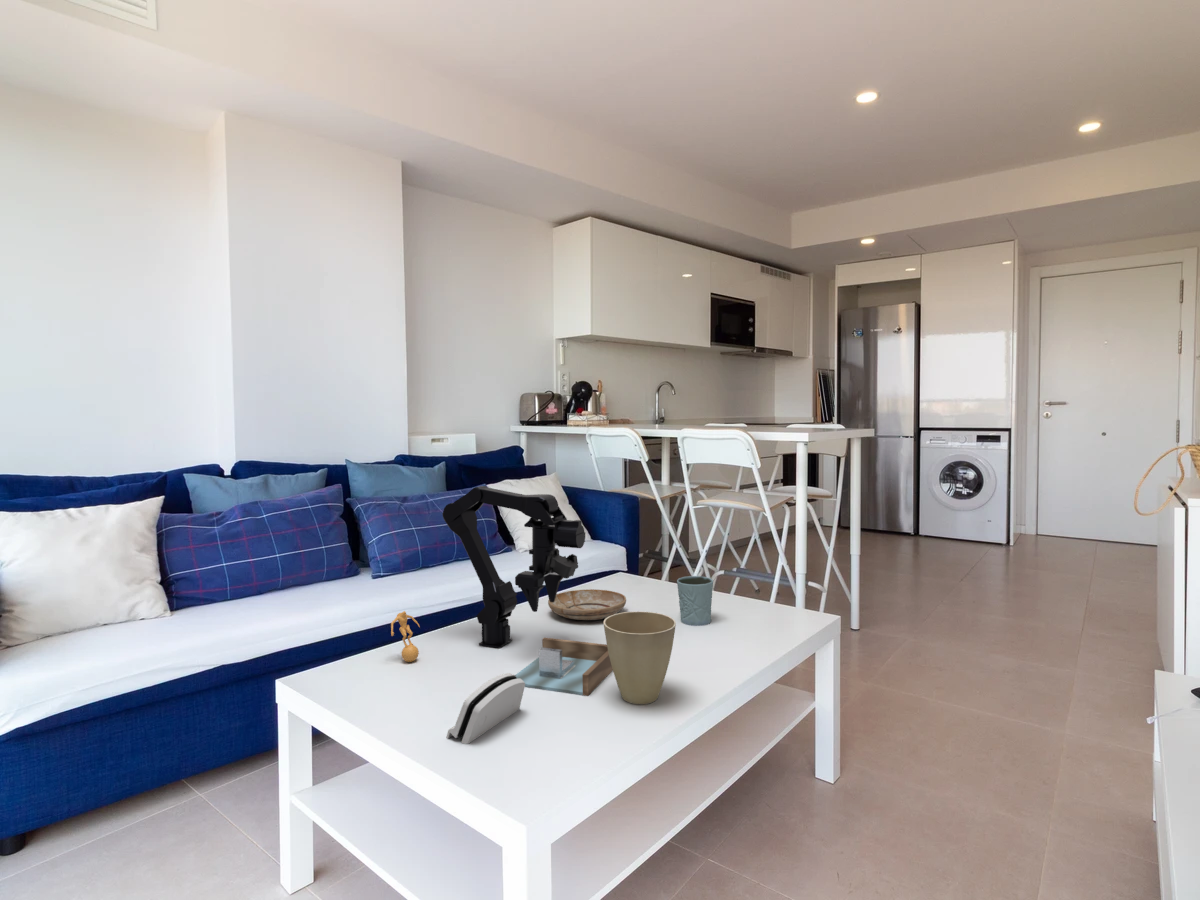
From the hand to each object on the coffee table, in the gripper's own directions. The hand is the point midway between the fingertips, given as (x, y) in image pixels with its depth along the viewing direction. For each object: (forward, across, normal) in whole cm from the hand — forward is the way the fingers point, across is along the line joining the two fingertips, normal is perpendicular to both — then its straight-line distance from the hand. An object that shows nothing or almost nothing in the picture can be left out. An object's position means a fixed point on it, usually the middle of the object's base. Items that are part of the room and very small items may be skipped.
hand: (543, 606), depth 167 cm
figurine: (+12, -19, +27) cm, 35 cm away
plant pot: (+11, -18, -32) cm, 39 cm away
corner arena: (+11, -13, -12) cm, 21 cm away
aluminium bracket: (+10, -13, -10) cm, 20 cm away
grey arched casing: (+11, -41, -10) cm, 43 cm away
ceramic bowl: (+11, +32, +2) cm, 34 cm away
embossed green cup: (+11, +36, -29) cm, 48 cm away
